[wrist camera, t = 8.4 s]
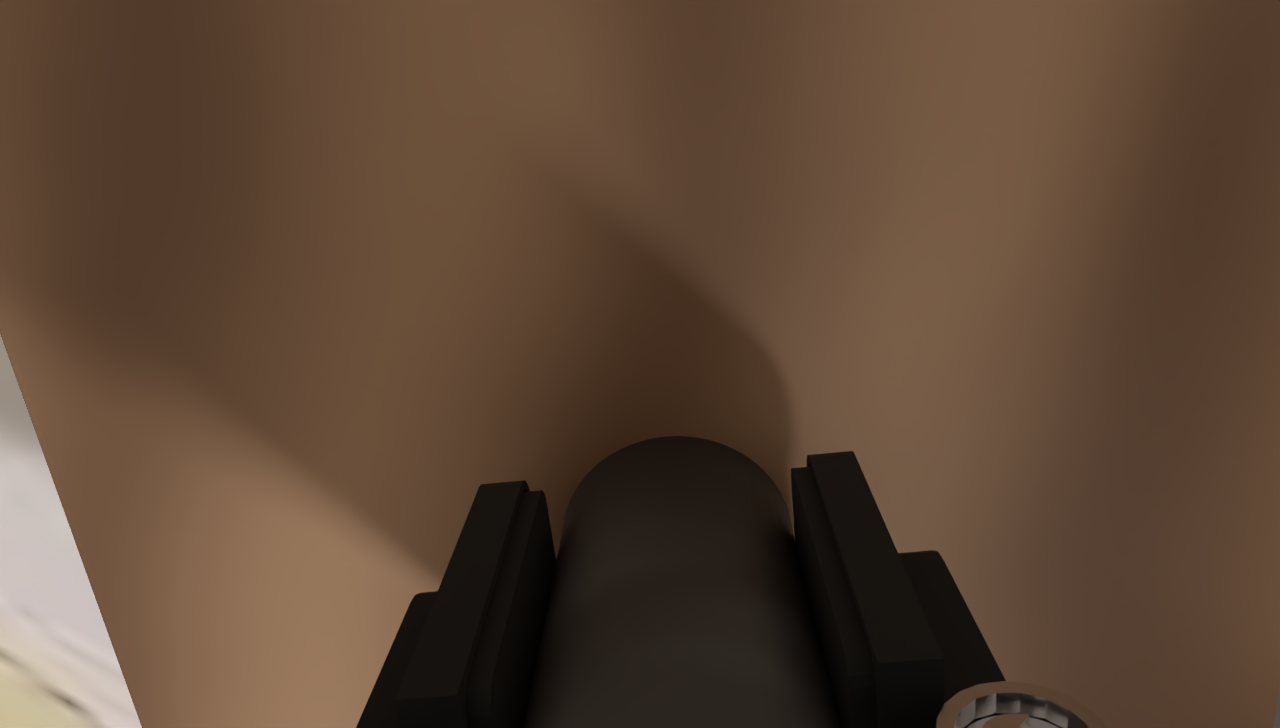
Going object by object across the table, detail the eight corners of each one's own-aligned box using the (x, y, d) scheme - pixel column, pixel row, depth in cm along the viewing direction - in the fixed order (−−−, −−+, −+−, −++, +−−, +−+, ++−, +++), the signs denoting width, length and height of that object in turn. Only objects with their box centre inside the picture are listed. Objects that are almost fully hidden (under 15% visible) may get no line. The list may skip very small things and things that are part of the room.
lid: (1345, -221, 10) (2606, -668, 4) (1207, 890, 16) (1604, 1529, 9) (-69, -39, 11) (-1133, -125, 5) (265, 948, 17) (2, 1560, 10)
